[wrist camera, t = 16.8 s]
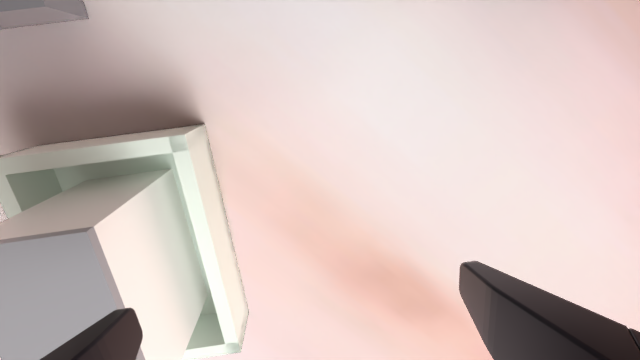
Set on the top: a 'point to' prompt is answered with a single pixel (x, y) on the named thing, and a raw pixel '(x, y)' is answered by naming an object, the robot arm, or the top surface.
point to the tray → (196, 196)
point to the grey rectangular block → (100, 267)
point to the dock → (39, 12)
